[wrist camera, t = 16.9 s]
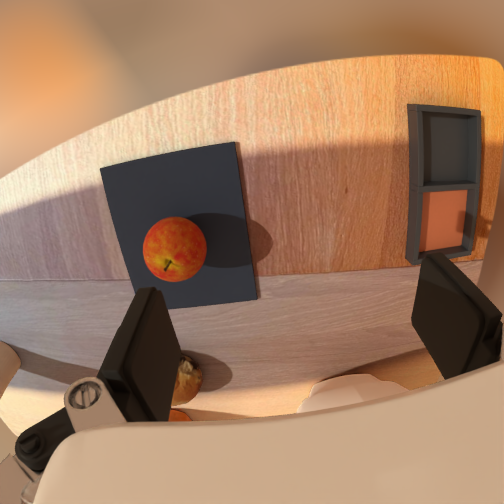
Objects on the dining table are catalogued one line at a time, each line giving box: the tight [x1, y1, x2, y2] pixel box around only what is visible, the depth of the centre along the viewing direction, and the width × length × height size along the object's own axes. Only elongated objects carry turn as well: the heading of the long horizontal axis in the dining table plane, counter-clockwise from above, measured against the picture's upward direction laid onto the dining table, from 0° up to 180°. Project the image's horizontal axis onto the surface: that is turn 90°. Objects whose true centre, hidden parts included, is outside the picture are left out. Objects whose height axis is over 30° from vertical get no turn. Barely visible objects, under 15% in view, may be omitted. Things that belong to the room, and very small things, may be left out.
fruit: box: [143, 217, 207, 282], centre depth 33 cm, size 7×7×8 cm
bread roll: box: [171, 354, 203, 406], centre depth 45 cm, size 10×10×8 cm
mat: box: [100, 142, 257, 309], centre depth 37 cm, size 20×16×1 cm
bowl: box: [296, 374, 410, 413], centre depth 46 cm, size 22×22×12 cm
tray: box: [405, 104, 481, 265], centre depth 34 cm, size 20×11×2 cm, turn 7°
